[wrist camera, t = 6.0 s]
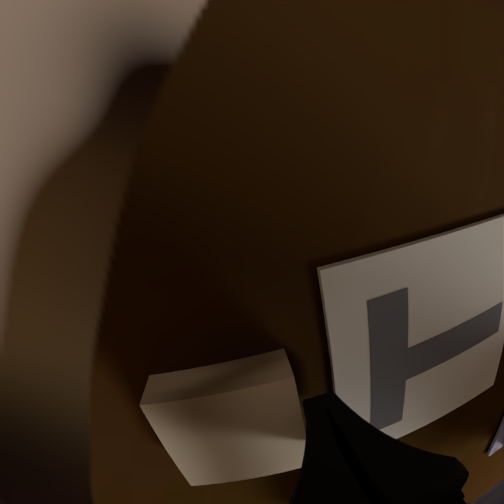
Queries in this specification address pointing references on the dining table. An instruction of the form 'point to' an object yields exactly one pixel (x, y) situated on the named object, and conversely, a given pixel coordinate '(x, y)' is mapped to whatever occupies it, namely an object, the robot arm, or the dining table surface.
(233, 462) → the birch block
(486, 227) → the letter card
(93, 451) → the dining table surface
